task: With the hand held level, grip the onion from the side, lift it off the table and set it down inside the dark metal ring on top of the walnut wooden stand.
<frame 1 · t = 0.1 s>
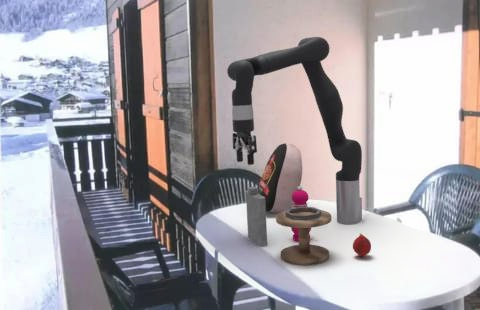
hand: (245, 163, 197), 29 cm above the table, tool pointing down, fingers open, 8 cm apart
onion: (362, 257, 179), on the table
pepper mill: (301, 240, 201), on the table
hip flask: (256, 240, 203), on the table
packaged food: (280, 211, 242), on the table
ring stand: (304, 256, 183), on the table
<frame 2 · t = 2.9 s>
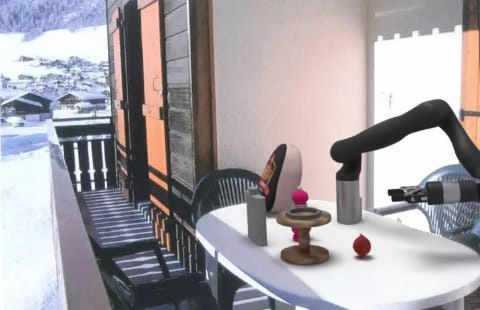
hand: (389, 195, 175), 20 cm above the table, tool horizontal, fingers open, 8 cm apart
nothing on the table moved.
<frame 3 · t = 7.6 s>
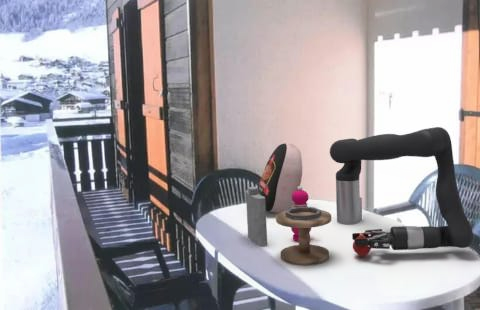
hand: (353, 239, 179), 6 cm above the table, tool horizontal, fingers closed on onion, 5 cm apart
onion: (362, 257, 179), on the table, touching gripper
everything else where it was.
when the fingers open (21 cm above the table, at t = 12.9 s): onion drops 1 cm, resting on ring stand.
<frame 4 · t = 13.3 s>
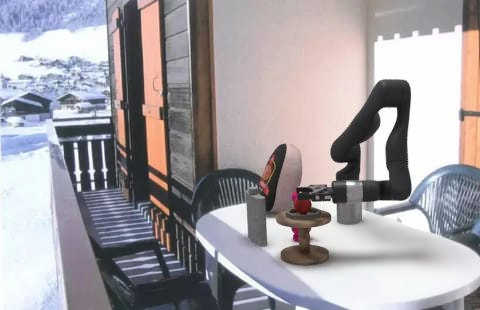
hand: (296, 193, 180), 22 cm above the table, tool horizontal, fingers open, 8 cm apart
onion: (303, 216, 180), point 14 cm above the table, touching ring stand
everything else where it was.
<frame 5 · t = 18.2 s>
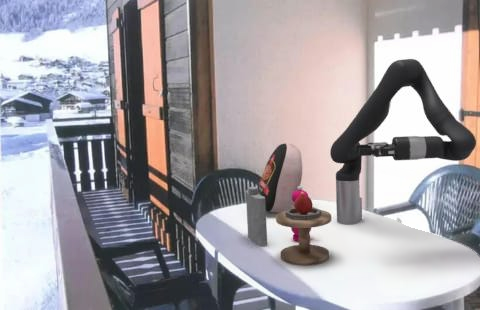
hand: (357, 150, 176), 35 cm above the table, tool horizontal, fingers open, 8 cm apart
nothing on the table moved.
at the end: onion inside the target area on the ring stand (0.1 cm from its centre), point 13.8 cm above the ring stand's base; the gripper is holding nothing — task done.
